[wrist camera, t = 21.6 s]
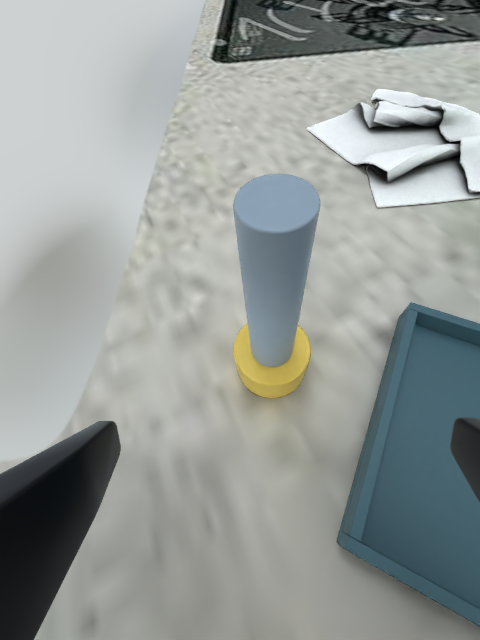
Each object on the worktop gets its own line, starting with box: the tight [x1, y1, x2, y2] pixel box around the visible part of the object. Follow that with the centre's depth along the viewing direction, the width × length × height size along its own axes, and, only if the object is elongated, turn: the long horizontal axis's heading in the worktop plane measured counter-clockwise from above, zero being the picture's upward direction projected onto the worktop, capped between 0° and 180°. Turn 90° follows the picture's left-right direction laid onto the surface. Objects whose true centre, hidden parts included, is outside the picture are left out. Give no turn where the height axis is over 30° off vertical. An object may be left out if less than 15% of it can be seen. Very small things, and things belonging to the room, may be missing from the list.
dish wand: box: [233, 174, 320, 398], centre depth 15 cm, size 5×5×14 cm
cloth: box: [307, 89, 480, 208], centre depth 31 cm, size 20×22×2 cm
